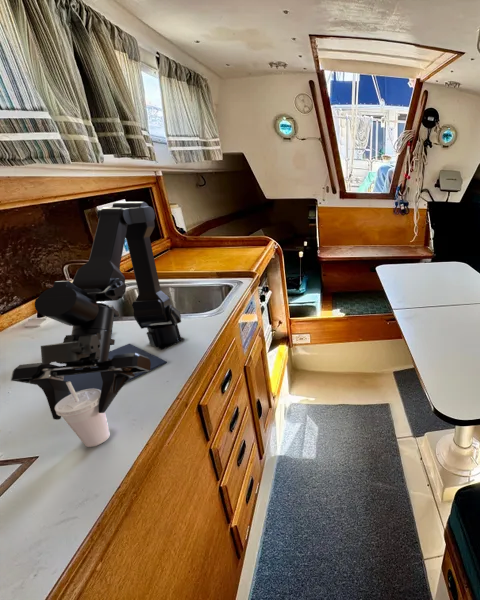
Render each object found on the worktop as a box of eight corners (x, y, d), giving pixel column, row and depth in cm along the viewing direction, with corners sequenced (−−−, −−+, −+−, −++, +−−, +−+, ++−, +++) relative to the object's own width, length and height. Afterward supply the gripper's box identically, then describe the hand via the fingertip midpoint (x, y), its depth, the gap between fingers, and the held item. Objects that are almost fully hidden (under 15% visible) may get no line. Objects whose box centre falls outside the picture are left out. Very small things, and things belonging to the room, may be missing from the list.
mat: (130, 344, 92) (129, 343, 92) (167, 362, 85) (166, 361, 85) (44, 379, 78) (43, 377, 77) (80, 404, 70) (79, 402, 70)
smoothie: (68, 457, 58) (35, 396, 52) (83, 431, 63) (54, 373, 58) (112, 446, 61) (85, 387, 55) (123, 422, 66) (99, 366, 60)
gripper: (-8, 325, 53) (-34, 425, 48) (125, 315, 58) (114, 404, 53) (45, 342, 63) (28, 425, 58) (154, 332, 68) (148, 408, 63)
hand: (79, 416), depth 58 cm, fingers closed on smoothie, 6 cm apart
